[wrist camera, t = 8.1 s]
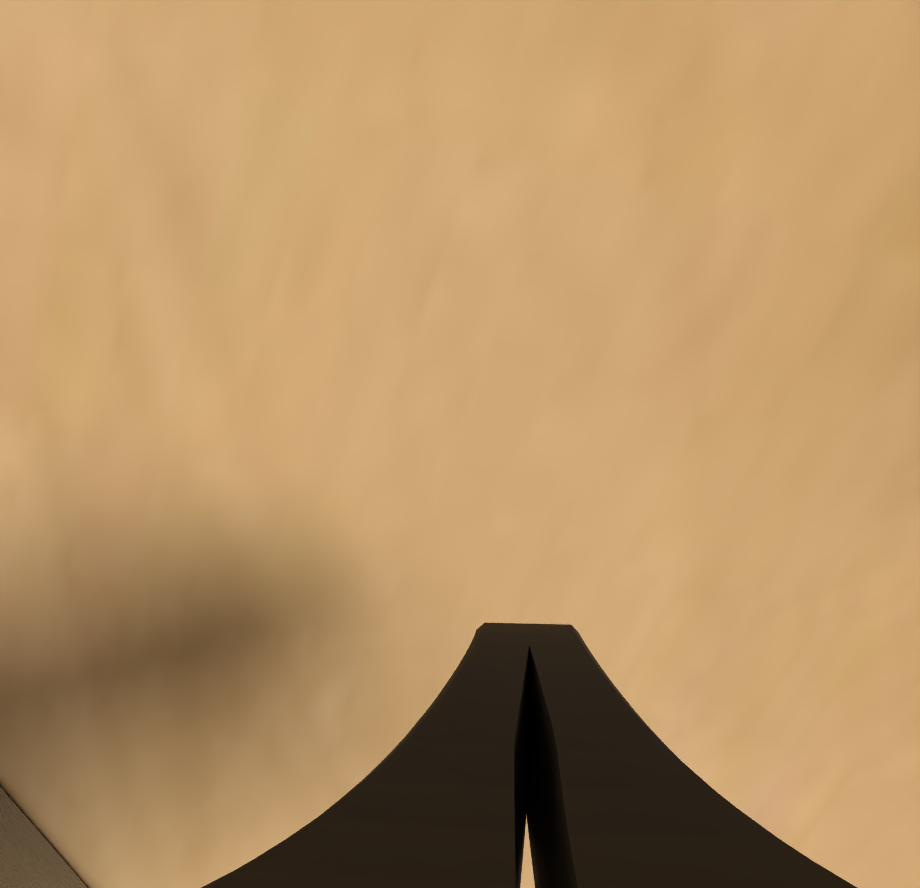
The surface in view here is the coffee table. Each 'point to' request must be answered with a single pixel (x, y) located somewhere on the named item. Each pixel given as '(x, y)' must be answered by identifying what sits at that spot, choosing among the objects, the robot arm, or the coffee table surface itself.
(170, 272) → the coffee table surface
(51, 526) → the coffee table surface
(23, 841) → the bar
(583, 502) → the coffee table surface
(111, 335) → the coffee table surface
